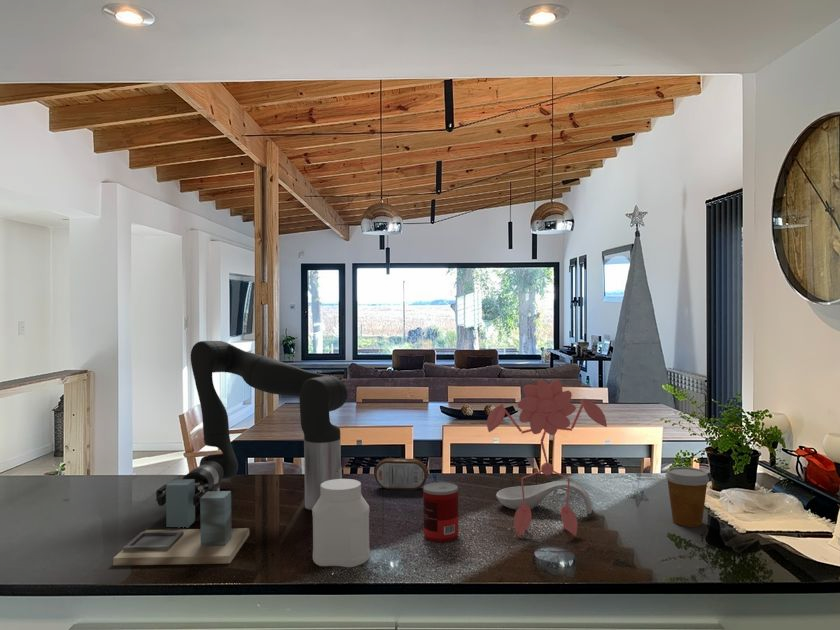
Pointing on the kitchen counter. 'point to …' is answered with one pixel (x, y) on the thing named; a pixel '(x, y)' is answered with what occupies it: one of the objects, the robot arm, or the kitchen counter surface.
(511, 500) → the spoon rest
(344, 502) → the jar
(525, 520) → the figurine
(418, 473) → the tin
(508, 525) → the kitchen counter surface
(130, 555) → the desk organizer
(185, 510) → the pillar
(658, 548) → the kitchen counter surface
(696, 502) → the disposable coffee cup
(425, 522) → the canned food
